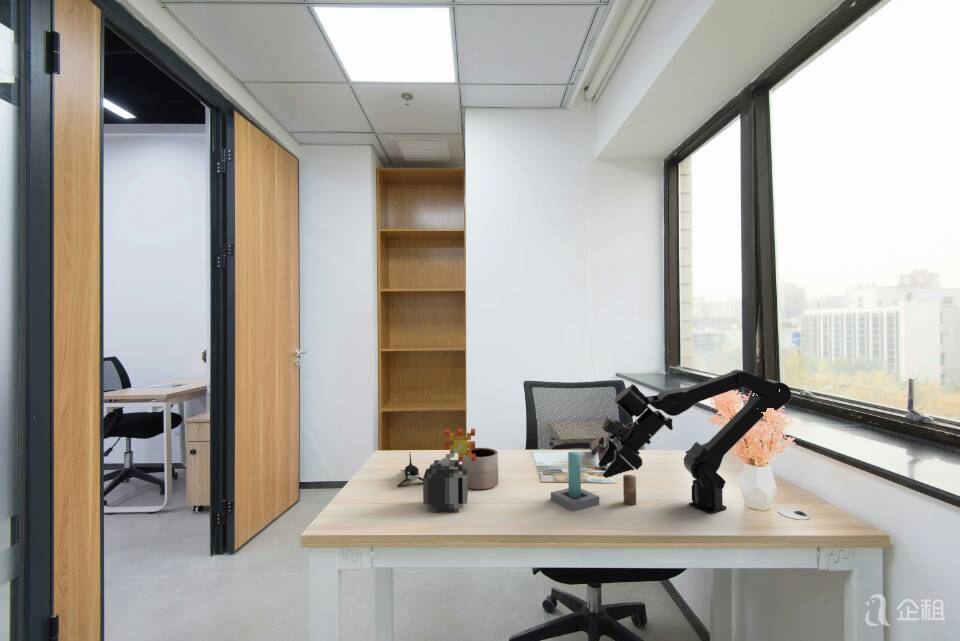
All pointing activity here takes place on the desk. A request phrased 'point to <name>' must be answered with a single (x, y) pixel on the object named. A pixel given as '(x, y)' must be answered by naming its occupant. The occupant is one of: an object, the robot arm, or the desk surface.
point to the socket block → (576, 504)
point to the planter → (482, 468)
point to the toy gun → (599, 447)
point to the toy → (411, 472)
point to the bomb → (449, 476)
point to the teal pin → (574, 475)
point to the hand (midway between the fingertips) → (601, 470)
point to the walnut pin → (629, 489)
